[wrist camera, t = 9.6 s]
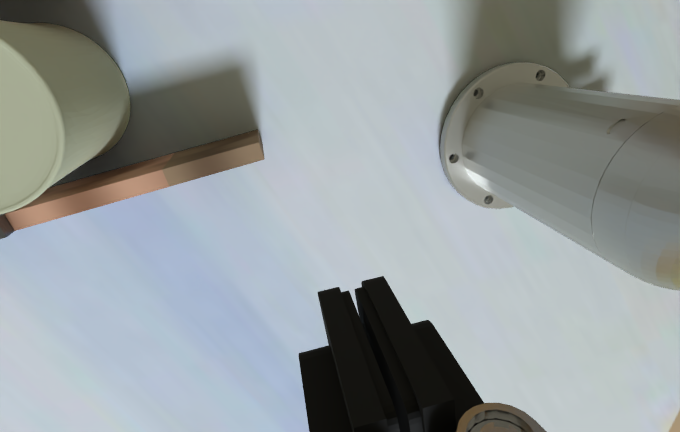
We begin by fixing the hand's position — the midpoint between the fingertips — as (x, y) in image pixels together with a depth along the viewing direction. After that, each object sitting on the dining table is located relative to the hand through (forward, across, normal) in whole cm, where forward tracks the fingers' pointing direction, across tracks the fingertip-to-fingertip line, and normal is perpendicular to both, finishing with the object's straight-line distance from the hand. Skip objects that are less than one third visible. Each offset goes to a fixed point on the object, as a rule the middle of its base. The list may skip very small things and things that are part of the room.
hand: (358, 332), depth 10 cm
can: (+25, +15, -6) cm, 29 cm away
